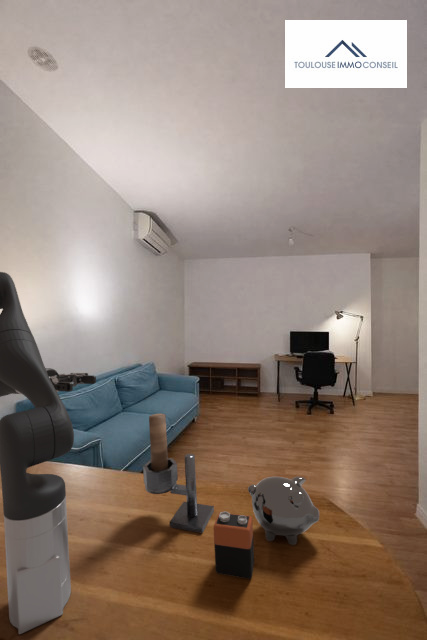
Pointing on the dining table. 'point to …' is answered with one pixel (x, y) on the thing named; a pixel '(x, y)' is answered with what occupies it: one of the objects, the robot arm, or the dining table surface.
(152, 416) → the rail post
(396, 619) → the dining table surface
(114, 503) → the dining table surface
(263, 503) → the piggy bank
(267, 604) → the dining table surface
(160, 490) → the cup bracket
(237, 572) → the battery
